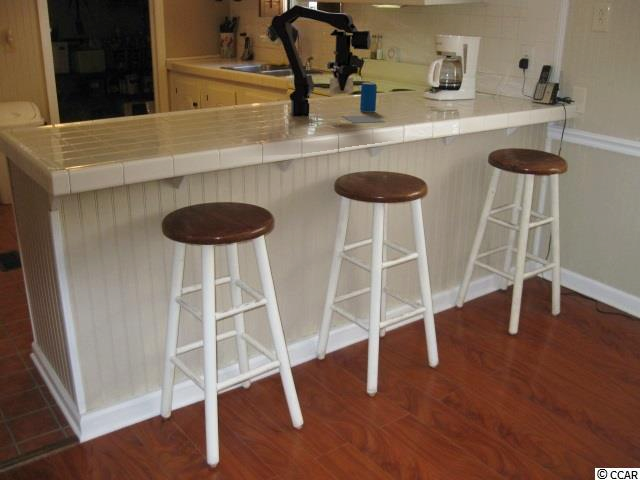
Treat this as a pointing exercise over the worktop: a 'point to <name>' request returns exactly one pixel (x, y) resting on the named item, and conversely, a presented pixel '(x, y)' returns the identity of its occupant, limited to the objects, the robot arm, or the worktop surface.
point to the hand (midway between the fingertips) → (341, 90)
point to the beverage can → (368, 97)
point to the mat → (363, 119)
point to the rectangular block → (336, 88)
